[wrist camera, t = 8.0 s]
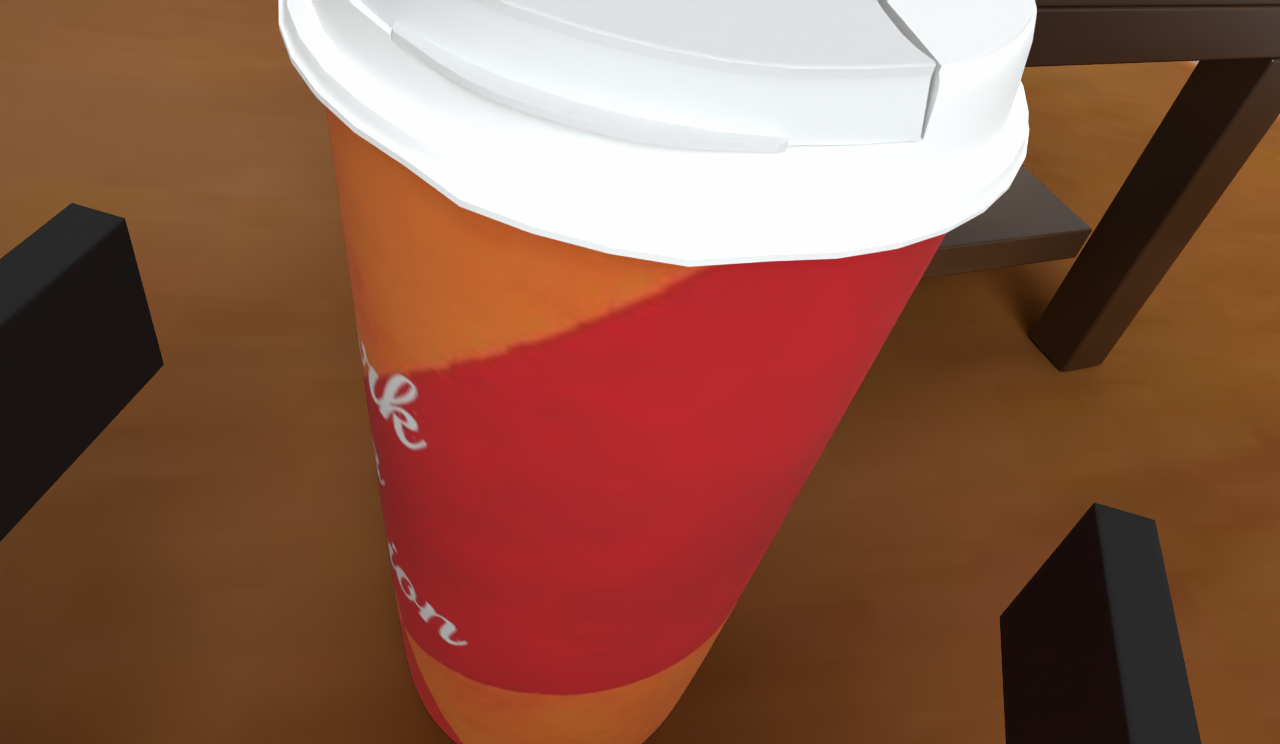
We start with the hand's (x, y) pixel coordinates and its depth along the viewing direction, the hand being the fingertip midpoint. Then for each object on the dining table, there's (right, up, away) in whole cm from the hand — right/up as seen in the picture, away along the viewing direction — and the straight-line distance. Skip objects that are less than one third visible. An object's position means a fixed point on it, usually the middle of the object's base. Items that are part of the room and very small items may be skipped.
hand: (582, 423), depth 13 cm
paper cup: (-1, -5, +6) cm, 8 cm away
